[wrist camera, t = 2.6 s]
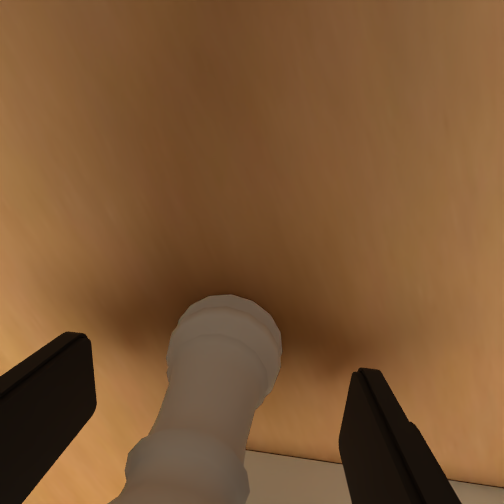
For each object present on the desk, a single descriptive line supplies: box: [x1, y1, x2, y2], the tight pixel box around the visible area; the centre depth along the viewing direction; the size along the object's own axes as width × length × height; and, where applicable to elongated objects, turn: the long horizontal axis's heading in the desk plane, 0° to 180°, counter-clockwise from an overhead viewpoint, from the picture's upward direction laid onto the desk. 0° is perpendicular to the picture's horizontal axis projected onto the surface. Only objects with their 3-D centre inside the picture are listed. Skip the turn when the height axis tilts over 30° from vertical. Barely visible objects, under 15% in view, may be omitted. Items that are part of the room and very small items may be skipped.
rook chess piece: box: [108, 294, 282, 504], centre depth 7 cm, size 4×4×8 cm
